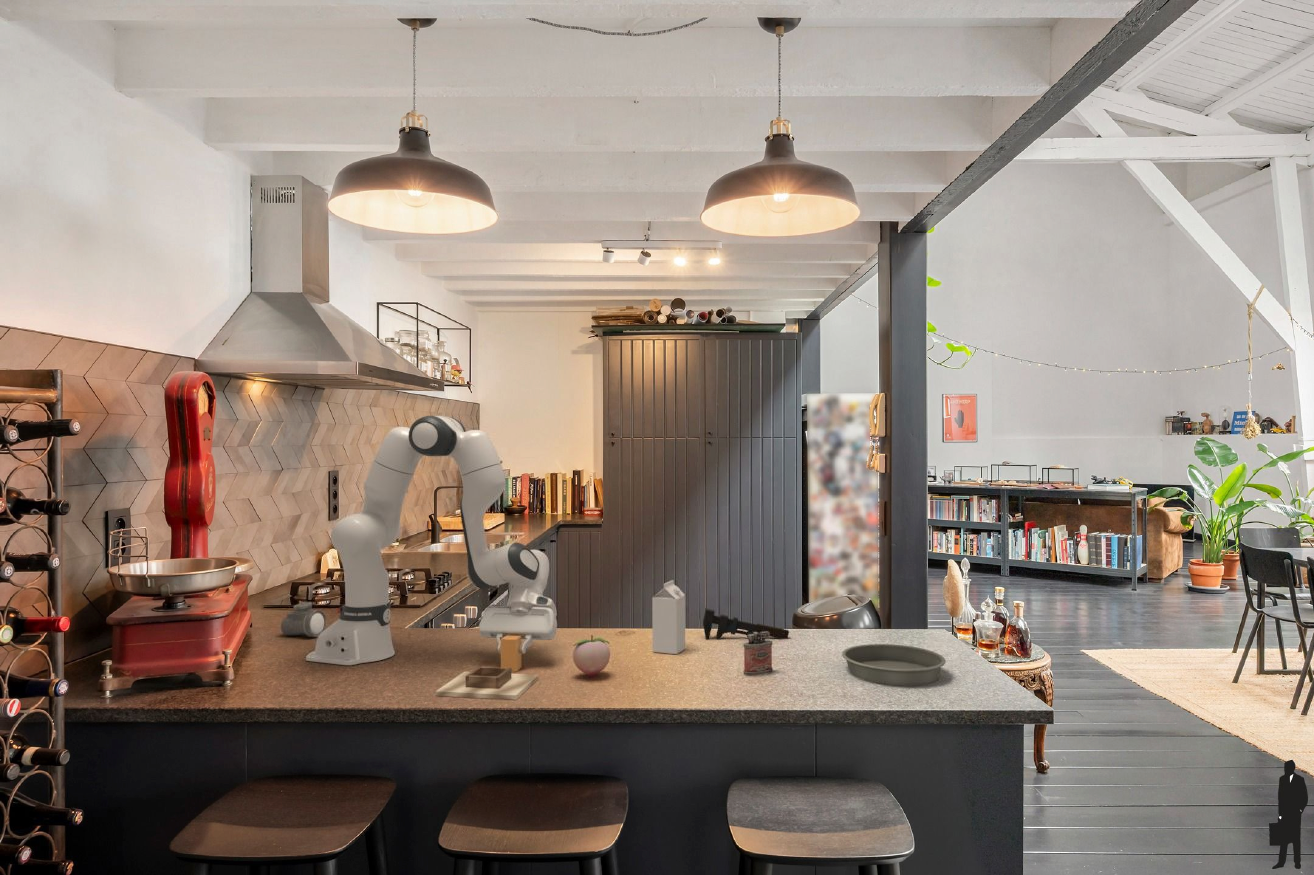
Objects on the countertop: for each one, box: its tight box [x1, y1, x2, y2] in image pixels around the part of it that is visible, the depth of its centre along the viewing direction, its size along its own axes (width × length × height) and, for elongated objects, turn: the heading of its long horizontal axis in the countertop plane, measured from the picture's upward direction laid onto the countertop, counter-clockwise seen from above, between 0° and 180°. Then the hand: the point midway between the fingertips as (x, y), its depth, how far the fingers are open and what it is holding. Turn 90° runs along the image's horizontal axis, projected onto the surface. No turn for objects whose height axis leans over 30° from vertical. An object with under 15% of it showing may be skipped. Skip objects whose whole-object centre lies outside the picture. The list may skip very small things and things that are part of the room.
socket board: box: [435, 666, 540, 701], centre depth 179 cm, size 19×16×4 cm
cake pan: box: [841, 643, 946, 687], centre depth 190 cm, size 25×25×4 cm
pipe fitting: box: [280, 601, 328, 638], centre depth 231 cm, size 12×8×10 cm
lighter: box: [742, 631, 774, 677], centre depth 190 cm, size 8×3×10 cm, turn 117°
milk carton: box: [651, 579, 686, 655], centre depth 212 cm, size 7×7×19 cm
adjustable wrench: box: [702, 608, 790, 641], centre depth 225 cm, size 8×3×25 cm
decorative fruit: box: [572, 634, 611, 677], centre depth 187 cm, size 9×8×10 cm
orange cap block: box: [500, 635, 522, 673], centre depth 194 cm, size 4×4×8 cm
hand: (511, 651), depth 194 cm, fingers closed on orange cap block, 4 cm apart
